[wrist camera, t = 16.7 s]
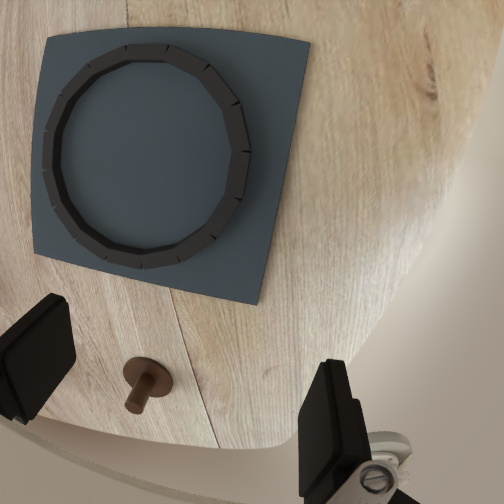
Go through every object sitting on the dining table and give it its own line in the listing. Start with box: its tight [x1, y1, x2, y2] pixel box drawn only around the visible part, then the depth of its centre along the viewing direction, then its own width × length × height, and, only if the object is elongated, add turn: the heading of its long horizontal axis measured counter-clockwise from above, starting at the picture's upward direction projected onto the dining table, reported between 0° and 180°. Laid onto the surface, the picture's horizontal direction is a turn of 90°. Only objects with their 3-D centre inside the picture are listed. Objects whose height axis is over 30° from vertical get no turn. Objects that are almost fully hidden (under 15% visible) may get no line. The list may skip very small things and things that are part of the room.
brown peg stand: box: [123, 357, 173, 414], centre depth 36 cm, size 7×7×6 cm
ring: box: [42, 44, 252, 270], centre depth 27 cm, size 22×22×2 cm
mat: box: [31, 27, 310, 305], centre depth 28 cm, size 28×26×1 cm
